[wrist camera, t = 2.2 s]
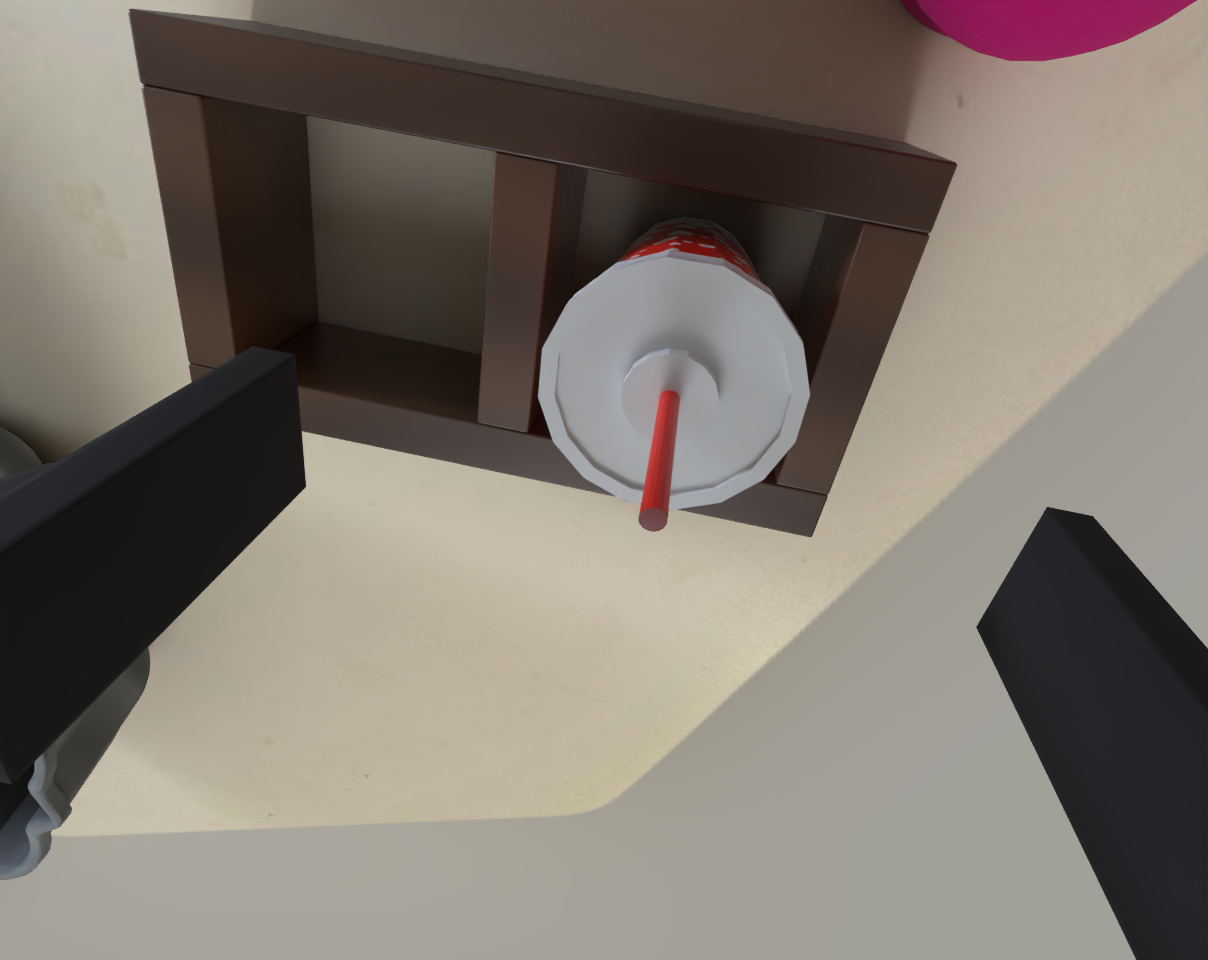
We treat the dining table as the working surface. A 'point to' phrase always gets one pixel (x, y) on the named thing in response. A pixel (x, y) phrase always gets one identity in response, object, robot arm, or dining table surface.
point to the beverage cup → (675, 373)
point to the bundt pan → (57, 742)
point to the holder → (501, 235)
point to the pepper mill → (1041, 24)
